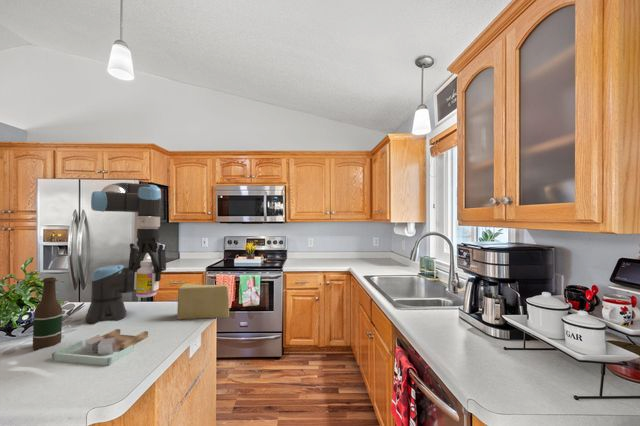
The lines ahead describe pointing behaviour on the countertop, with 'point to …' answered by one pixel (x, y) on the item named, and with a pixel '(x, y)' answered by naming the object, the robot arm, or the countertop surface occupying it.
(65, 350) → the tray
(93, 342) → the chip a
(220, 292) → the tan rectangular block
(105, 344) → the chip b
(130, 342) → the slot board
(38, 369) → the countertop surface
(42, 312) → the beer bottle
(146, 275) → the supplement bottle
